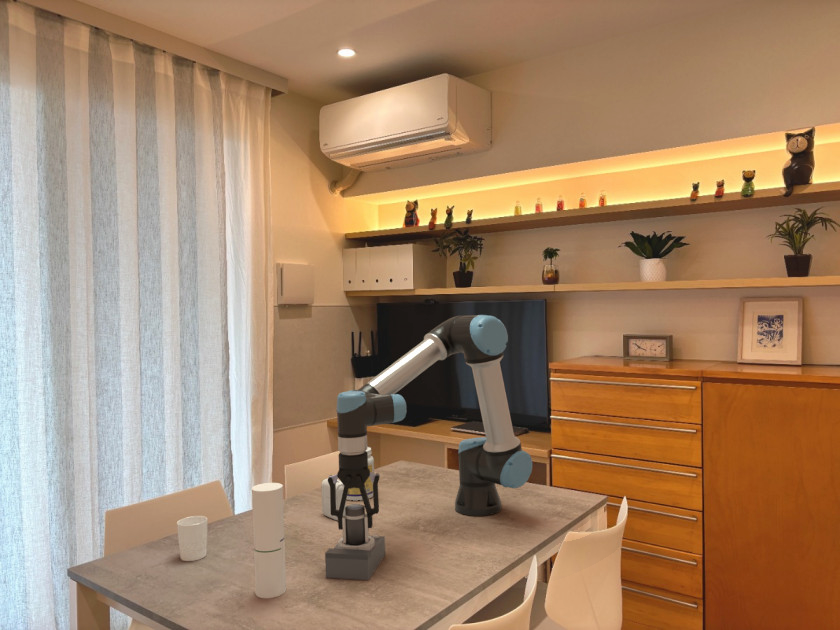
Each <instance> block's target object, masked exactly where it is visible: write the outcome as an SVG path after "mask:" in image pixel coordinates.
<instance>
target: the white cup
mask: <svg viewBox="0 0 840 630" xmlns="http://www.w3.org/2000/svg"><path fill="white" fill-rule="evenodd" d="M176 528H177V540H178V541H177V542H178V548H179V557H180V560H181V561H184V562H194V561H198V560H201V559H203V558H205V557H206V556H207V545H208V517H206V516H204V515H192V516H187V517H183V518H181V519H179V520H178V521H176Z"/></svg>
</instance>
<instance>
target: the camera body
mask: <svg viewBox="0 0 840 630" xmlns="http://www.w3.org/2000/svg"><path fill="white" fill-rule="evenodd" d="M385 556H386V536H385V535H384V536H382V535H379V534H374V535H370V534H369V540H368V542H365V543H364V544H361V545H348V544H347V543H343V536H342V537H340V539H338V541H337V542H336V545H335V546H334V548H328V549H327V550H326V552H324V557H325V558H324V559H325V560H324V561H325V578H326V579H338V580H339V579H341V580H355V581H356V580H358V581H369V580H370V578H371V577H372V576H373V574H374V572H375V571H376V570H377V568H378V567H379V565H380V564H381V562H382V560H383V559H384V558H385Z"/></svg>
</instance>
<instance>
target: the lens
mask: <svg viewBox="0 0 840 630" xmlns="http://www.w3.org/2000/svg"><path fill="white" fill-rule="evenodd" d="M365 514H366V509H365V506H364V504H359V503H358V504H357V503H356V504H350V505H346V507H345V517H346V543H347V544H348V545H361V544H364V543H365V518H364V517H365Z"/></svg>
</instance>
